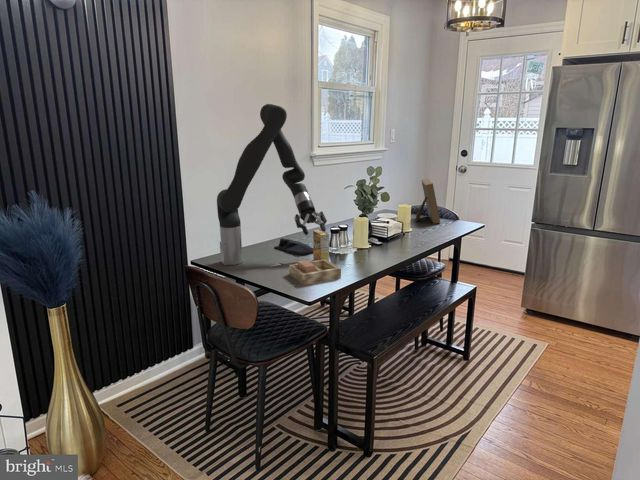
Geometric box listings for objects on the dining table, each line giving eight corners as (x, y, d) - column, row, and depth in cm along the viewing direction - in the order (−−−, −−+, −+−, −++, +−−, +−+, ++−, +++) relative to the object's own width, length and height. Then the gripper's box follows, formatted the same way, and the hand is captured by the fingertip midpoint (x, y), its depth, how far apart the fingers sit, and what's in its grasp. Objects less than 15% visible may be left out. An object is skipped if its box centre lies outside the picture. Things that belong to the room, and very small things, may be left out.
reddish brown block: (306, 281, 176) (306, 266, 174) (297, 275, 183) (297, 261, 181) (315, 279, 178) (315, 265, 176) (306, 273, 184) (306, 259, 183)
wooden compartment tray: (303, 288, 173) (303, 275, 171) (289, 277, 185) (289, 264, 183) (340, 281, 180) (341, 268, 178) (324, 271, 192) (324, 259, 190)
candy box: (312, 263, 203) (312, 230, 199) (321, 261, 204) (321, 229, 200) (321, 268, 195) (320, 234, 191) (329, 267, 197) (329, 233, 193)
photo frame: (435, 216, 295) (437, 178, 288) (440, 223, 274) (442, 183, 267) (412, 216, 296) (413, 178, 290) (415, 223, 276) (417, 183, 269)
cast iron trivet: (296, 258, 211) (296, 249, 210) (272, 248, 228) (271, 239, 226) (322, 252, 220) (322, 243, 219) (296, 243, 237) (296, 234, 235)
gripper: (292, 200, 202) (303, 230, 195) (320, 197, 208) (332, 226, 201) (288, 210, 208) (299, 239, 201) (315, 207, 214) (327, 235, 207)
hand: (315, 233), depth 201 cm, fingers open, 8 cm apart
